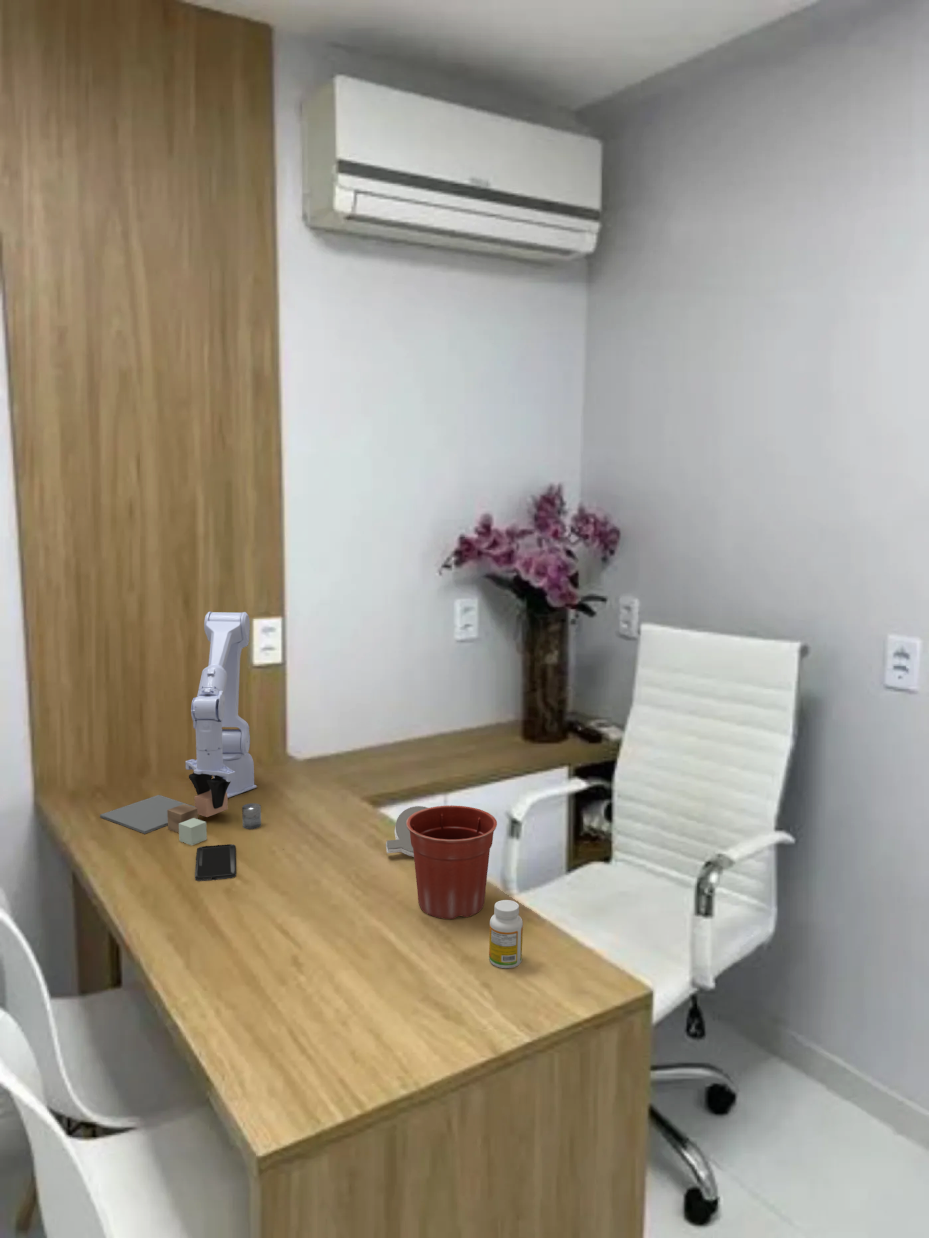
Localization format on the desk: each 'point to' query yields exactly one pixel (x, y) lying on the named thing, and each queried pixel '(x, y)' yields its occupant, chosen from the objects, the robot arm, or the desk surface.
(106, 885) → the desk surface
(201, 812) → the terracotta brick
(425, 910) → the flower pot
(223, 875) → the phone
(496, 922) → the supplement bottle
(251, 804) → the metal cylinder
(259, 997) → the desk surface
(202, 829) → the square sage brick
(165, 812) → the desk mat
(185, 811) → the walnut cube
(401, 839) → the grey disc with foot
